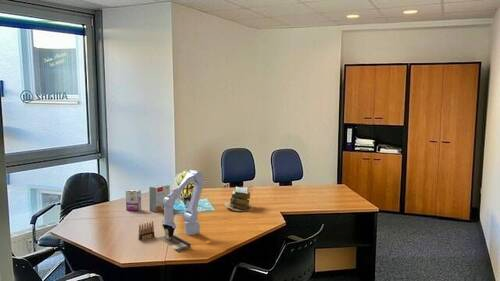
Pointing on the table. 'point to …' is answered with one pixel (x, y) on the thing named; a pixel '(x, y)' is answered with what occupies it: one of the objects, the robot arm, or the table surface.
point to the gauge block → (167, 234)
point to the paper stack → (240, 200)
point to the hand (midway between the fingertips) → (169, 235)
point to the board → (176, 243)
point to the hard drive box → (158, 196)
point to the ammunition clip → (146, 231)
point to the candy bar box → (133, 200)
